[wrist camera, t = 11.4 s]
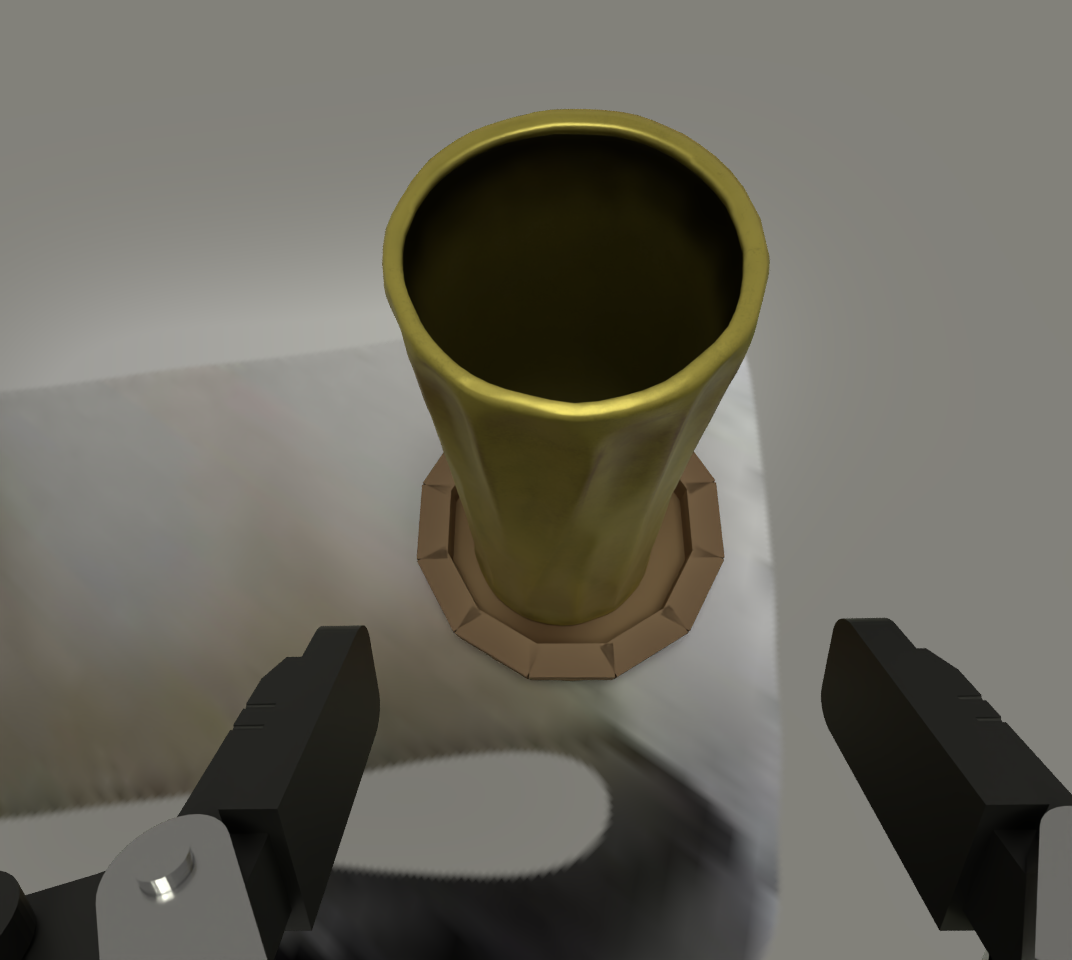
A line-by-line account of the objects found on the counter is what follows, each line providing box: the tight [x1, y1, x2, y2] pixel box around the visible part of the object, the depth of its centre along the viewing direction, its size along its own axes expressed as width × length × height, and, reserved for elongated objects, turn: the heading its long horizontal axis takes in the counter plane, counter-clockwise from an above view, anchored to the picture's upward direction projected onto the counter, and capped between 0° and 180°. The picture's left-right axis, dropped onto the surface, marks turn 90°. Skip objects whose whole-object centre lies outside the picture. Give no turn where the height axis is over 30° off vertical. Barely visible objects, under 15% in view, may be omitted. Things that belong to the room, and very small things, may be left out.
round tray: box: [417, 452, 724, 681], centre depth 21 cm, size 10×10×2 cm
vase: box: [382, 109, 770, 626], centre depth 15 cm, size 6×6×14 cm
